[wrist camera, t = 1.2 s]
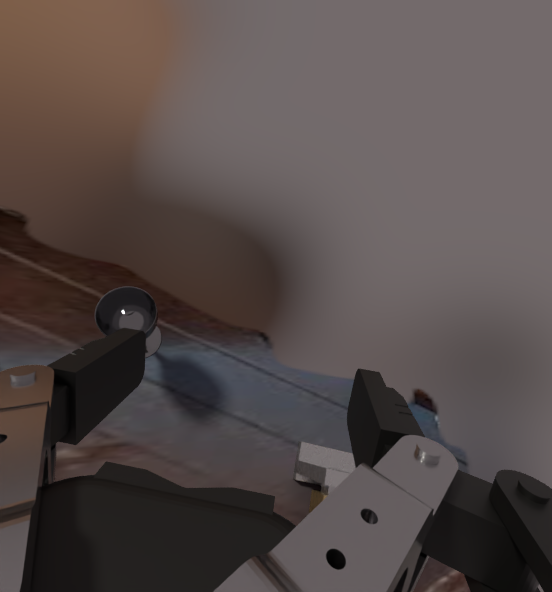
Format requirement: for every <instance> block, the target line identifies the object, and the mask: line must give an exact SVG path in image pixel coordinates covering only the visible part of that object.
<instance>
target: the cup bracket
mask: <svg viewBox="0 0 552 592" xmlns="http://www.w3.org/2000/svg"><path fill="white" fill-rule="evenodd" d="M355 469H356V467H355V462H354V457H353V454H352V453H347V452H343V451H339V450H334V449H330V448H326V447H322V446H317V445H313V444H309V443H304V442H299V443H298V450H297V456H296V462H295V469H294V475H293V479H295V480H299V481H304V482H308V483H313V484H318V485H321V491H317V490H312V494H311V501H310V509H309V514H310V513H311V512H312V511H313V510H314V509H315V508H316V507H317V506H318V505H319V504H320V503H321V502H322V501H323V500H324V499H325V498H326V497H327V496H328V495H329V494H330V493H331V492H332V491H333V490H334V489H335V488H336V487H337V486H338V485H339V484H340V483H341V482H342V481H343V480H344V479H345V478H346V477H348V476H349V475H350V474H351V473H352V472H353V471H354V470H355Z"/></svg>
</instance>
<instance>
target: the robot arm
mask: <svg viewBox="0 0 552 592" xmlns="http://www.w3.org/2000/svg"><path fill="white" fill-rule="evenodd" d="M145 351H146V334H145V332H144V331H140V330H135V329H129V328H121V329H120V330H118V331H116V332H114V333H112V334H111V335H109V336H107V337H105V338H102V339H99V340H95V341H92V342H90V343H88V344H86V345H84V346H83V347H81V349H77V350H75V351H73V352H72V354H68V355H66V356H64V357H62V358H60V359H59V360H57V361H55V362H53V363H51V364H49V365H48V366H44V365H23V366H17V367H13V368H9V369H6V370H4V371H1V372H0V592H413V590H414V588H415V586H416V584H417V581H418V579H419V577H420V575H421V573H422V571H423V569H424V567H425V564H426V562H427V560H428V557H429V556H430V557H432V558H434V559H436V560H438V561H440V562H441V563H443V564H445V565H447V566H449V567H451V568H453V569H455V570H457V571H459V572H461V573H463V574H464V575H465V578H466V581H467V583H468V586H469V588H470V591H471V592H540V591H539V589H538V585H539V584H540V585H541V587H542V589H543V591H544V592H552V489H551V488H550V487H548V486H547V485H545V484H544V483H542V482H540V481H539V480H536V479H534V478H533V477H531V476H528V475H526V474H523V473H520V472H517V471H512V470H501V471H499V472H498V473H497V474H496V477H495V479H494V482H493V484H492V483H489V482H487V481H484V480H482V479H479V478H477V477H474V476H472V475H469V474H467V473H464V472H462V471H460V470H458V463H457V461H456V459H455V457H454V456H453V455H452V454H451V453H450V452H449V451H448V450H447V449H446V448H444V447H443V446H442V445H440V444H438V443H437V442H435V441H433V440H430V439H428V438H425V436H424V434H423V432H422V431H421V429H420V427H419V425H418V423H417V421H416V420H415V418H414V416H412V412H411V410H410V409H409V408H408V405H407V403H406V401H405V400H404V398H403V397H402V396H401V395H400V394H399V393H398V392H397V391H396V390H394V389H393V388H389V387H386V385H385V383H384V381H383V378H382V377H381V374H380V373H379V372H375V371H370V370H364V369H358V370H357V372H356V375H355V379H354V384H353V388H352V393H351V397H350V402H349V406H348V413H347V425H348V431H349V436H350V441H351V446H352V452H353V457H354V462H355V467H356V469H355V470H354V471H353V472H352V473H351V474H350V475H349V476H348V477H346V478H345V479H344V480H343V481H342V482H341V483H340V484H339V485H338V486H337V487H336V488H335V489H334V490H333V491H332V492H331V493H330V494H329V495H328V496H327V497H326V498H325V499H324V500H323V501H322V502H321V503H320V504H319V505H318V506H317V507H316V508H315V509H314V510H313V511H312V512H311V513H310V514H309V515H307V516H306V517H305V518H304V519H303V520H302V521H301V522H300V523H299V524H298V525H297V526H295V525H294V524H293V523H291V522H290V521H289V520H287V519H285V518H284V517H282V516H281V515H279V514H277V513H275V512H273V508H274V500H275V496H271V495H266V494H262V493H257V492H252V491H247V490H242V489H237V488H184V487H181V486H179V485H177V484H175V483H173V482H171V481H169V480H167V479H164V478H162V477H160V476H158V475H156V474H154V473H152V472H150V471H148V470H145V469H140V468H135V467H130V466H125V465H121V464H116V463H111V462H105V464H104V465H103V466H102V467H101V468H100V469H99V471H98V472H97V473H96V474H95V475H88V476H79V477H74V478H68V479H64V480H61V481H57V482H54V480H55V466H56V443H57V442H63V443H68V444H73V445H77V444H78V443H79V442H80V441H81V440H82V439H83V438H84V437H85V436H86V435H87V434H88V433H89V432H90V431H91V430H92V429H93V428H95V427H96V426H97V425H98V424H99V423H100V422H101V421H102V420H103V419H104V418H105V417H106V416H107V415H108V414H109V413H110V412H111V411H112V410H113V409H114V408H116V407H117V406H118V405H119V404H120V403H121V402H122V401H123V400H124V399H125V398H126V397H127V396H128V395H129V394H130V393H131V392H132V391H133V390H134V389H135V388H137V387H138V385H139V384H140V382H141V380H142V378H143V375H144V370H145Z"/></svg>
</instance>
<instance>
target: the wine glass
mask: <svg viewBox="0 0 552 592" xmlns="http://www.w3.org/2000/svg"><path fill="white" fill-rule="evenodd" d="M157 320H158V313H157V308H156V304H155V302H154V300H153V298H152V297H151V296H150V295H149V294H148V293H147V292H145V291H144V290H142V289H140V288H136V287H120V288H116V289H114V290H112V291H110V292H108V293H107V294H105V295H104V296H103V297H102V298H101V300H100V301H99V302H98V304H97V307H96V310H95V321H96V324H97V326H98V328H99V329H100V331H101V332H102V333H103V334H104V335H105V336H106V337H107V336H109V335H111V334H112V333H114V332H116V331H118V330H120V329H121V328H129V329H135V330H140V331H144V332H145V334H146V351H145V358H147V357H149V356H151V355H152V354H154V353H155V352H156V351H157V350H158V348H159V346H160V344H161V340H162V337H161V332H160V330H159V329H158V327H157V326H156V325H157Z"/></svg>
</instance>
